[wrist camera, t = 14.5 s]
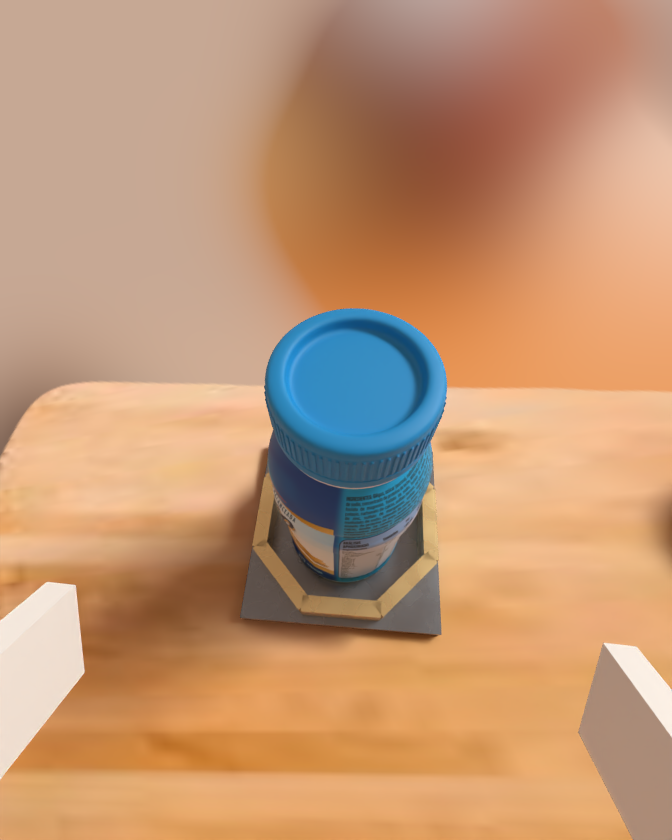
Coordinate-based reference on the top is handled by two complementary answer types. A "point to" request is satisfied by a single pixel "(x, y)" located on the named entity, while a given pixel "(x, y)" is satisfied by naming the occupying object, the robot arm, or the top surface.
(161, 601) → the top surface
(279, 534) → the flange base
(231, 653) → the top surface
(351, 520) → the beverage bottle
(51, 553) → the top surface
